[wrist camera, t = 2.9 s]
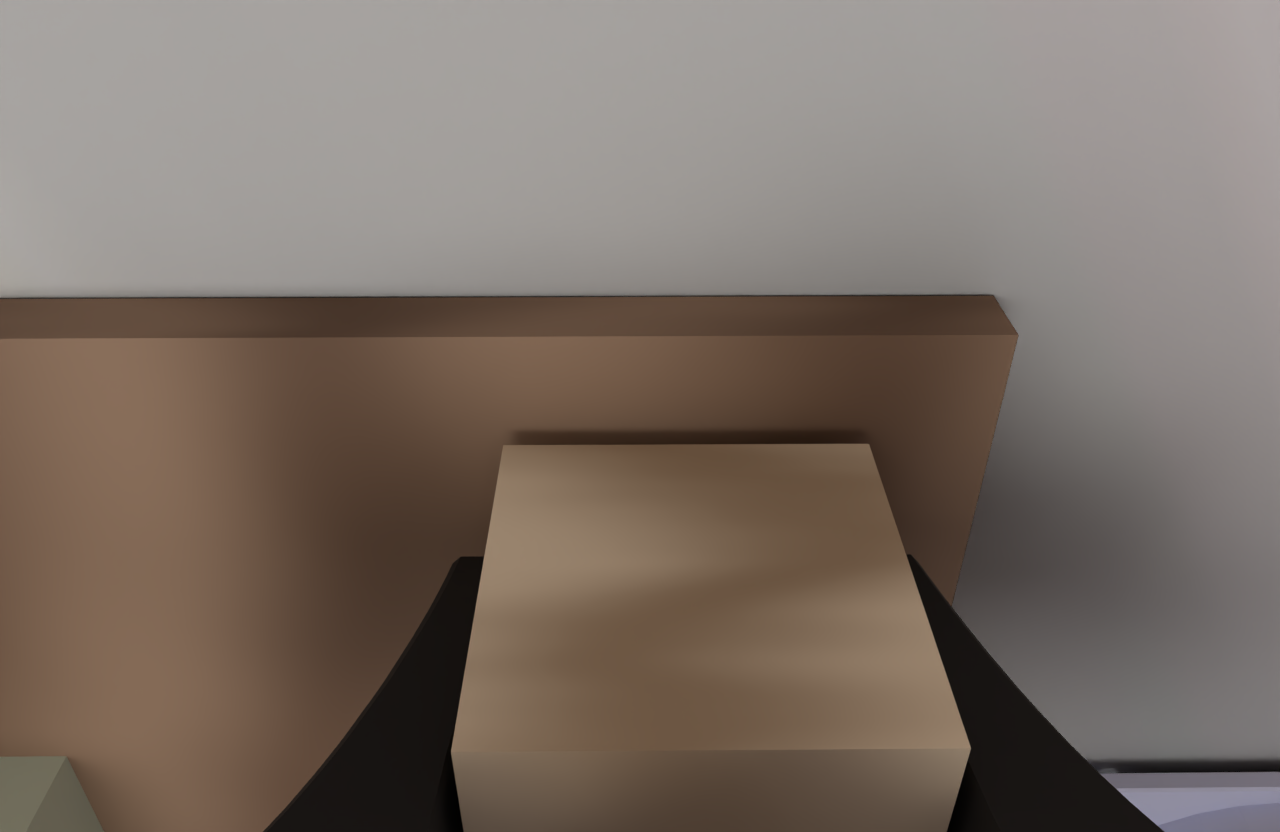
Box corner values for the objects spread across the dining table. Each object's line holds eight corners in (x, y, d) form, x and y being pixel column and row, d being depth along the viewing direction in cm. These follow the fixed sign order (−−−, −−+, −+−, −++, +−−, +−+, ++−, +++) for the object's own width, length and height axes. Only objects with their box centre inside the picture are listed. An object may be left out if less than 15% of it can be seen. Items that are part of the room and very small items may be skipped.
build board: (993, 295, 13) (1021, 338, 12) (826, 1040, 24) (834, 1091, 23) (-515, 300, 13) (-601, 344, 12) (25, 1050, 24) (2, 1102, 23)
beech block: (868, 443, 13) (971, 748, 9) (829, 689, 15) (896, 1006, 11) (503, 445, 12) (450, 752, 9) (525, 691, 15) (492, 1011, 11)
